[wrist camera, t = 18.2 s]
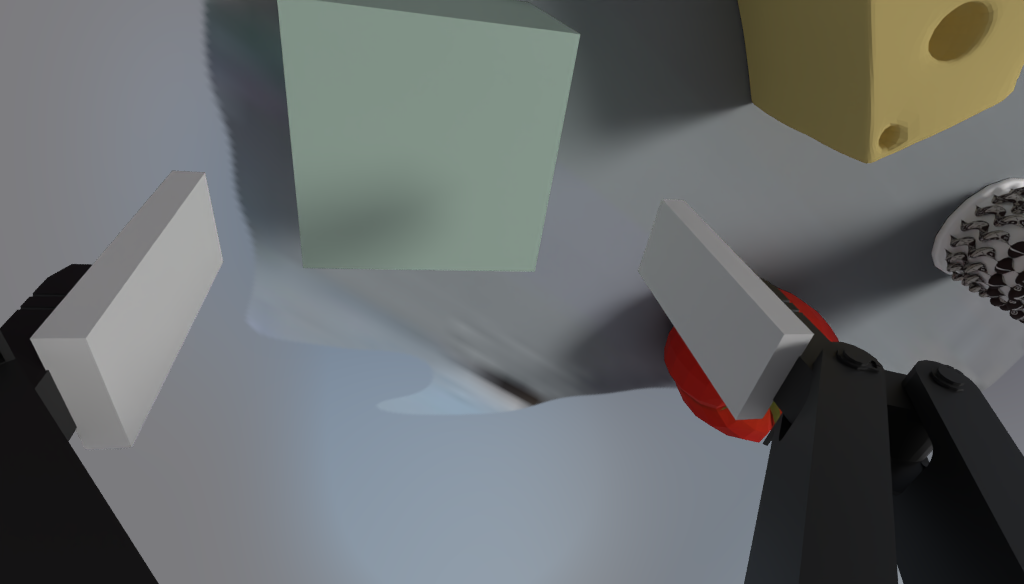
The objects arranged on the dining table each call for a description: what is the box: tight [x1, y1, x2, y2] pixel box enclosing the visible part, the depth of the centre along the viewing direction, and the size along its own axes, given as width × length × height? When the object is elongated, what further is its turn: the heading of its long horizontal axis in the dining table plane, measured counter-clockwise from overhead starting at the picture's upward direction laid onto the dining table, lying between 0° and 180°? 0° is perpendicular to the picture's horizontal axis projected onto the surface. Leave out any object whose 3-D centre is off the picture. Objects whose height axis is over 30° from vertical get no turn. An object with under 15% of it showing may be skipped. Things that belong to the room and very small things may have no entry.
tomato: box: [664, 288, 839, 442], centre depth 38 cm, size 11×12×9 cm
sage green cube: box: [277, 0, 580, 272], centre depth 24 cm, size 10×10×9 cm
